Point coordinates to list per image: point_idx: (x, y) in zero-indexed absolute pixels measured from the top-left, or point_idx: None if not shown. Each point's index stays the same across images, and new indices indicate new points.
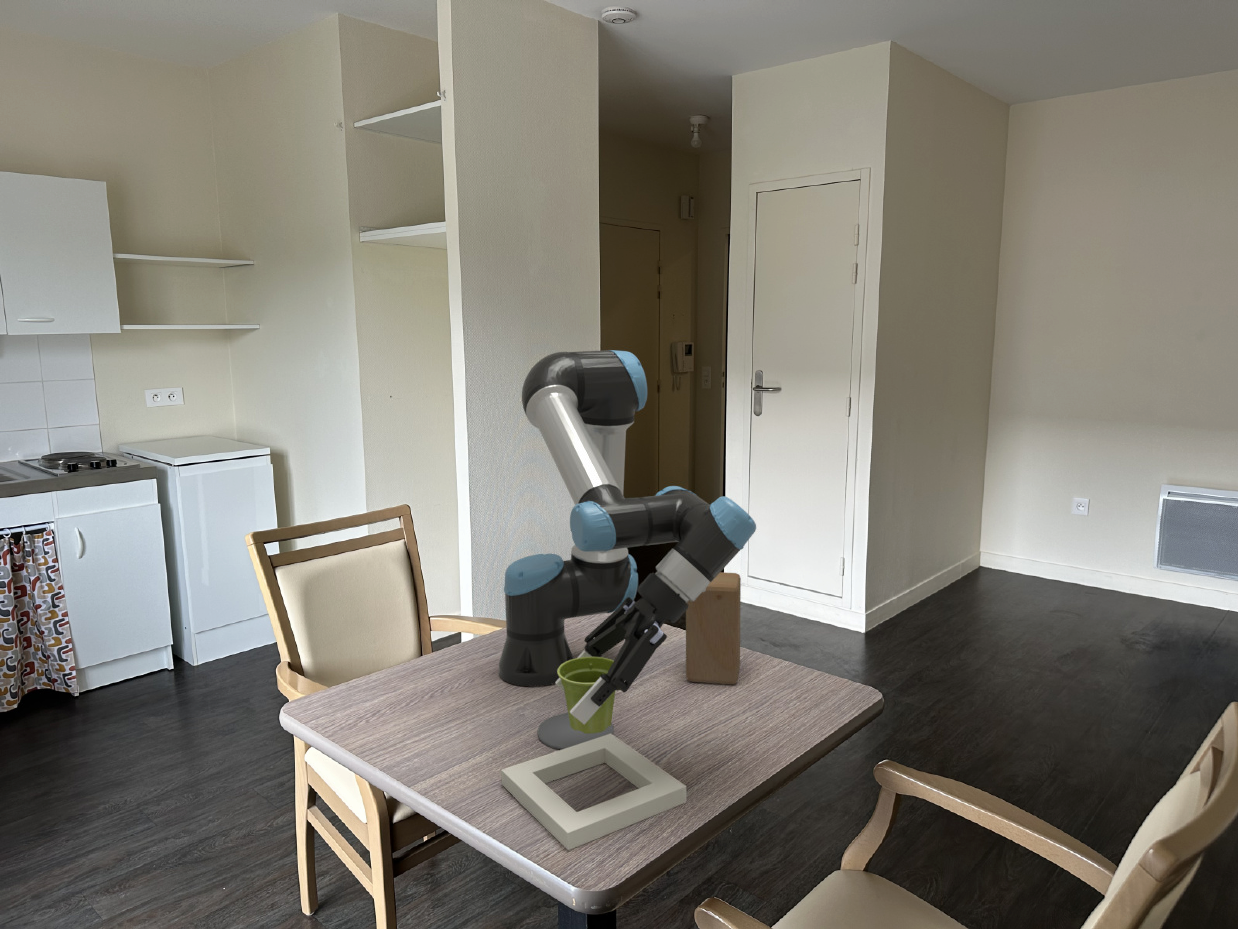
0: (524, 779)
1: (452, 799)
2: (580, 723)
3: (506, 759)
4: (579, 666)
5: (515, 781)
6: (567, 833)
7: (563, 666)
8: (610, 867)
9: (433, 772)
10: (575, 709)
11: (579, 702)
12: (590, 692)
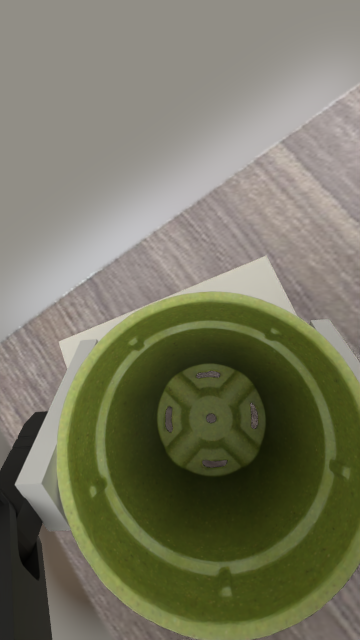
0: (226, 291)
1: (234, 198)
2: (160, 382)
3: (345, 276)
4: (338, 413)
5: (222, 276)
6: (59, 341)
7: (289, 328)
8: (18, 396)
9: (318, 170)
10: (76, 354)
11: (74, 368)
12: (49, 412)
